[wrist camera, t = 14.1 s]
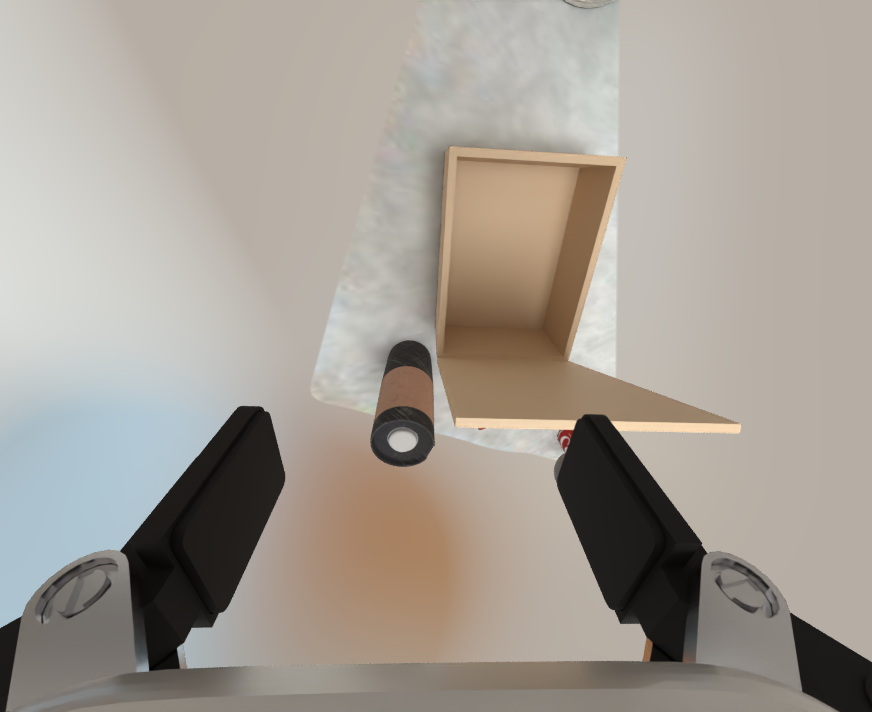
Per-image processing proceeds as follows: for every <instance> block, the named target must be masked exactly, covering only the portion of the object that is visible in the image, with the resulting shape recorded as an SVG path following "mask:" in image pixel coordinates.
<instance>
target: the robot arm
mask: <svg viewBox="0 0 872 712" xmlns="http://www.w3.org/2000/svg"><path fill="white" fill-rule="evenodd" d="M565 1H566V2H568V3H570V4H572V5H574V6H577V7H583V8H594V7H600V6H603V5H605V4H608V3H611V2H612V1H614V0H565ZM284 482H285V472H284V468H283V464H282V460H281V456H280V452H279V448H278V444H277V440H276V436H275V432H274V429H273V424H272V420H271V416H270V414H269V412H265V411H264V409H263V408H262V407H259V406H240V407H238V408H237V409H236V410H235V411H234V413H233V414H232V415H231V416H230V418H229V419H228V420H227V421H226V423H225V424H224V425H223V426H222V427H221V429H220V430H219V431H218V432H217V434H216V435H215V436H214V437H213V438H212V440H211V441H210V442H209V443H208V445H207V446H206V447H205V448H204V450H203V451H202V452H201V453H200V455H199V456H198V457H197V458H196V459H195V460H194V461H193V462H192V463H191V465H190V466H189V467H188V468H187V470H186V471H185V472H184V473H183V475H182V476H181V477H180V478H179V479H178V481H177V482H176V483H175V484H174V485H173V487H172V488H171V489H170V490H169V492H168V493H167V494H166V495H165V497H164V498H163V499H162V500H161V502H160V503H159V504H158V505H157V506H156V508H155V509H154V510H153V511H152V512H151V514H150V515H149V516H148V517H147V519H146V520H145V521H144V522H143V524H142V525H141V526H140V527H139V529H138V530H137V531H136V532H135V533H134V535H133V536H132V537H131V538H130V540H129V541H128V542H127V543H126V544H125V546H124V547H123V548H122V549H121V551H115V550H105V551H99V552H95V553H92V554H90V555H87V556H84V557H82V558H79V559H78V560H76V561H74V562H72V563H70V564H69V565H67V566H65V567H64V568H62V569H61V570H60V571H58V572H57V573H56V574H54V575H53V576H51V577H50V578H49V579H48V580H47V581H46V582H45V583H44V584H43V585H42V586H41V587H40V588H39V589H38V590H37V591H36V592H35V593H34V595H33V596H32V597H31V599H30V600H29V602H28V603H27V604H26V607H25V610H24V612H23V615H22V616H21V617H20V618H18V619H16V620H14V621H12V622H10V623H9V624H7V625H5V626H3V627H1V628H0V712H872V662H871V661H869V660H867V659H866V658H864V657H862V656H861V655H859V654H857V653H856V652H854V651H852V650H851V649H849V648H847V647H846V646H844V645H843V644H841V643H839V642H838V641H836V640H834V639H833V638H831V637H829V636H827V635H826V634H825V633H823V632H821V631H820V630H818V629H816V628H815V627H813V626H811V625H810V624H808V623H806V622H805V621H803V620H801V619H800V618H798V617H797V616H795V615H793V614H792V613H790V611H789V608H788V605H787V602H786V600H785V598H784V597H783V595H782V594H781V592H780V591H779V589H778V588H777V587H776V586H775V585H774V584H773V583H772V582H771V580H770V579H769V578H768V577H767V576H766V575H764V574H763V573H762V572H761V571H759V570H758V569H757V568H756V567H754V566H753V565H751V564H750V563H748V562H746V561H745V560H743V559H741V558H739V557H737V556H734V555H732V554H729V553H724V552H720V551H716V552H709V553H707V552H706V551H705V549H704V548H703V547H702V542H701V541H700V540H699V538H698V537H697V536H696V534H695V533H694V532H693V530H692V529H691V528H690V526H689V525H688V524H687V522H686V521H685V520H684V518H683V517H682V516H681V514H680V513H679V512H678V511H677V509H676V508H675V507H674V505H673V504H672V502H671V501H670V500H669V498H668V497H667V496H666V494H665V493H664V492H663V491H662V489H661V488H660V486H659V485H658V484H657V482H656V481H655V480H654V479H653V477H652V476H651V474H650V473H649V472H648V471H647V469H646V468H645V466H644V465H643V464H642V462H641V461H640V460H639V458H638V457H637V456H636V455H635V453H634V452H633V450H632V449H631V448H630V447H629V445H628V444H627V443H626V441H625V440H624V438H623V437H622V436H621V435H620V433H619V432H618V430H617V429H616V428H615V426H614V425H613V424H612V422H611V421H610V420H609V418H608V417H607V416H606V415H603V414H584V415H583V416H582V418H581V419H578V420H577V421H576V424H575V427H574V430H573V433H572V436H571V439H570V442H569V445H568V448H567V451H566V454H565V456H564V459H563V462H562V465H561V468H560V471H559V474H558V477H557V486H558V490H559V492H560V494H561V497H562V500H563V502H564V504H565V507H566V509H567V511H568V514H569V516H570V518H571V520H572V523H573V526H574V528H575V530H576V533H577V535H578V537H579V540H580V542H581V545H582V547H583V549H584V552H585V554H586V556H587V559H588V561H589V563H590V566H591V568H592V571H593V573H594V575H595V578H596V580H597V582H598V585H599V587H600V590H601V592H602V594H603V597H604V599H605V601H606V603H607V605H608V607H609V608H610V609H612V610H615V612H616V615H617V617H618V619H619V622H620V624H641V626H642V628H643V631H644V632H645V635H646V636H647V638H646V644H645V650H644V656H643V661H642V662H640V661H635V662H634V661H577V662H576V661H573V662H571V661H564V662H475V663H474V662H469V663H402V664H401V663H400V664H344V665H343V664H341V665H293V666H292V665H291V666H243V667H219V668H193V669H187V665H186V659H185V654H184V648H183V643H184V642H185V640H186V638H187V636H188V634H189V632H190V630H191V628H200V627H201V628H202V627H212V626H213V624H214V622H215V620H216V618H217V616H218V614H219V613H221V612H224V611H225V610H226V608H227V607H228V605H229V604H230V602H231V599H232V597H233V595H234V593H235V591H236V588H237V586H238V584H239V582H240V580H241V578H242V575H243V573H244V571H245V569H246V567H247V564H248V562H249V560H250V558H251V556H252V554H253V551H254V549H255V547H256V545H257V543H258V541H259V538H260V536H261V534H262V532H263V530H264V527H265V525H266V523H267V521H268V519H269V516H270V514H271V512H272V510H273V508H274V506H275V504H276V501H277V499H278V497H279V495H280V493H281V490H282V488H283V486H284Z"/></svg>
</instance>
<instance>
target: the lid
mask: <svg viewBox="0 0 872 712" xmlns="http://www.w3.org/2000/svg"><path fill="white" fill-rule="evenodd" d="M437 363H438V367H439V371H440V374H441V378H442V381H443V385H444V388H445V392H446V396H447V399H448V403H449V406H450V410H451V414H452V417H453V421H454V424H455V427H463V428H511V429H559V430H574V427H575V424H576V421H577V420H578V419H581V418H582V416H583V415H584V414H603V415H606V416H607V417H608V418H609V420H610V421H611V422H612V424H613V425H614V426H615V428H616V429H617V430H618V431H655V432H657V431H658V432H704V433H706V432H707V433H708V432H709V433H740V430H741V424H740V423H737V422H734V421H731V420H729V419H726V418H723V417H720V416H718V415H715V414H712V413H709V412H707V411H704V410H701V409H698V408H696V407H693V406H690V405H687V404H685V403H682V402H679V401H677V400H674V399H671V398H668V397H666V396H663V395H660V394H657V393H655V392H652V391H649V390H646V389H644V388H641V387H638V386H635V385H633V384H630V383H627V382H624V381H622V380H619V379H616V378H614V377H611V376H608V375H605V374H603V373H600V372H597V371H594V370H592V369H589V368H586V367H583V366H581V365H578V364H575V363H572V362H570V361H543V360H511V359H479V358H447V357H437ZM565 454H566V453H564V454H563V455H561V456H560V457H559V458H558V460H557V462H556V464H555V467H554V476H555V480H556V482H557V477H558V474H559V471H560V468H561V465H562V462H563V459H564V456H565Z"/></svg>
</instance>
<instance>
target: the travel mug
mask: <svg viewBox="0 0 872 712" xmlns="http://www.w3.org/2000/svg"><path fill="white" fill-rule="evenodd" d="M433 446H435V441H434V395H433V377H432V365H431V357H430V353H429V351H428V350H427V349H426V347H425V346H423V345H422V344H420V343H418V342H415V341H404V342H401V343H399V344H397V345H396V346H395V347H393V349H392V350H391V352H390V354H389V357H388V361H387V365H386V368H385V372H384V376H383V379H382V383H381V388H380V393H379V398H378V404H377V409H376V414H375V419H374V424H373V430H372V434H371V448H372V451H373V453H374V454H375V455H376V456H377V457H378V458H379V459H380V460H381V461H383V462H385V463H387V464H389V465H393V466H399V467H407V466H413V465H417V464H419V463H421V462H423V461H425V460H426V458H427V456H428V454H429V453H430V451H431V449H432V448H433Z"/></svg>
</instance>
